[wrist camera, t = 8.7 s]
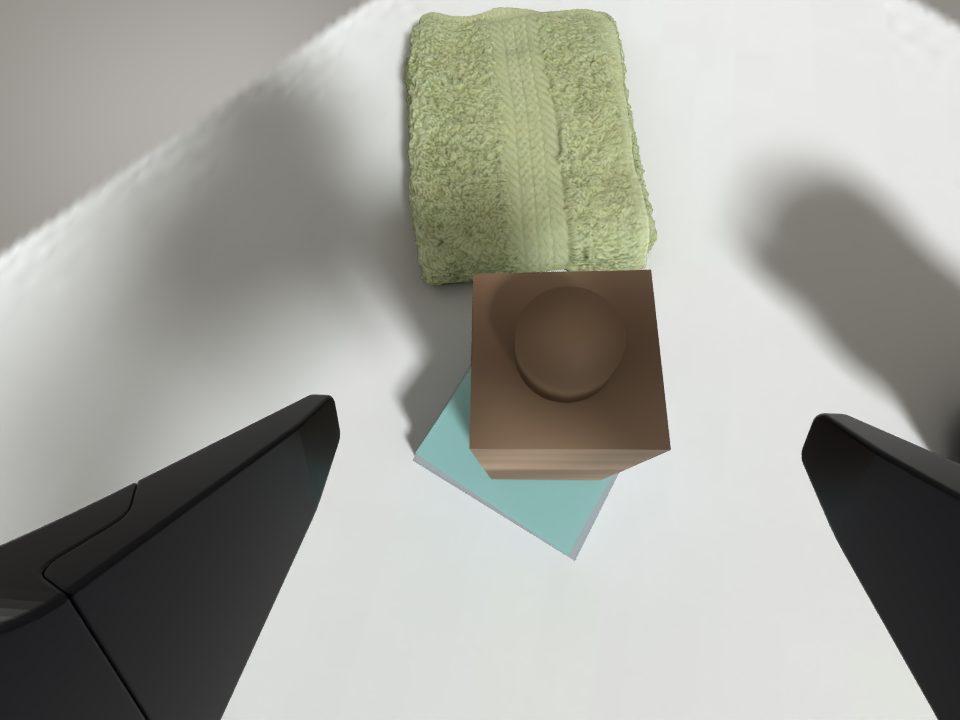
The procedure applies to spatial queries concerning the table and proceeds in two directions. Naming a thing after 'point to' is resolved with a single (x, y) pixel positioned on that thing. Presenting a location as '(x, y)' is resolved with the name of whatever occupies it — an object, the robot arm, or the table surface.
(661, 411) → the walnut pillar
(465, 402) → the teal slab
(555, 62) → the washcloth
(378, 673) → the table surface
